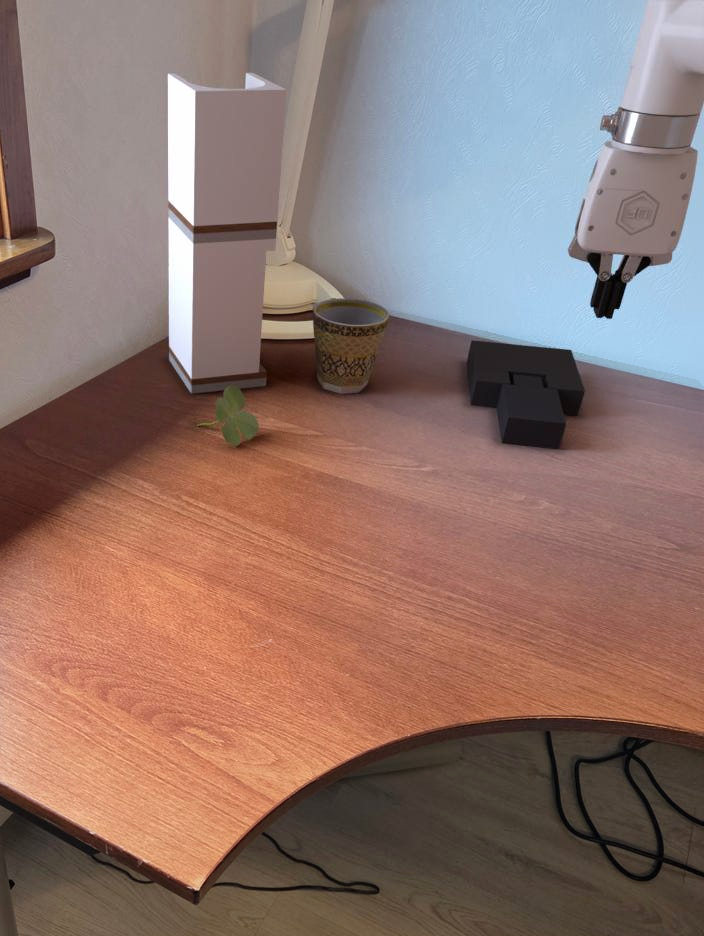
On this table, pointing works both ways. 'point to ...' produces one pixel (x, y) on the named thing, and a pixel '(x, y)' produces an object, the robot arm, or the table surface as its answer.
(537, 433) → the pad
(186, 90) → the tall square vase
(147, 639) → the table surface
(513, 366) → the notch pad
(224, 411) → the green clover leaf
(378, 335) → the ceramic cup
